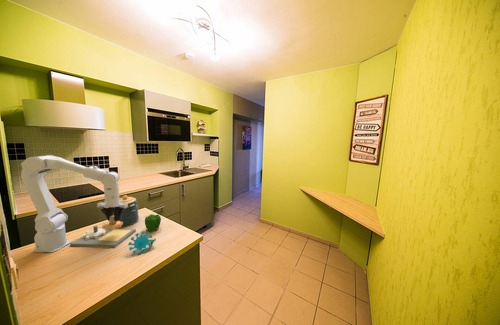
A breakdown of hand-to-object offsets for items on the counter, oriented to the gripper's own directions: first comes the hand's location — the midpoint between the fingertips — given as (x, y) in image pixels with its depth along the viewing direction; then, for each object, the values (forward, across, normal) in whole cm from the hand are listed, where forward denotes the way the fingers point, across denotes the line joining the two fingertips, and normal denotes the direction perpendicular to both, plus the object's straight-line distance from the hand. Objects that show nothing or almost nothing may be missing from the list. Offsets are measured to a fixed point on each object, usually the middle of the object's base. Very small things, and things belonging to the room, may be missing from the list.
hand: (113, 220), depth 84 cm
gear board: (+10, -4, -1) cm, 11 cm away
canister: (+10, -6, +16) cm, 20 cm away
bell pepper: (+10, +14, +10) cm, 20 cm away
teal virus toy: (+10, +20, -8) cm, 24 cm away
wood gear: (+3, 0, -1) cm, 3 cm away
